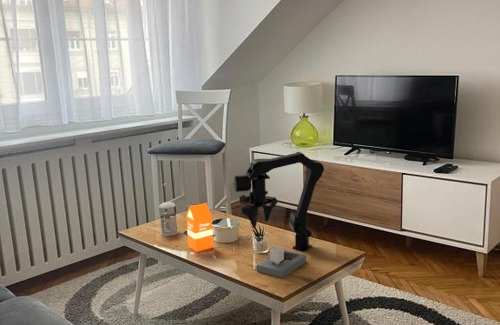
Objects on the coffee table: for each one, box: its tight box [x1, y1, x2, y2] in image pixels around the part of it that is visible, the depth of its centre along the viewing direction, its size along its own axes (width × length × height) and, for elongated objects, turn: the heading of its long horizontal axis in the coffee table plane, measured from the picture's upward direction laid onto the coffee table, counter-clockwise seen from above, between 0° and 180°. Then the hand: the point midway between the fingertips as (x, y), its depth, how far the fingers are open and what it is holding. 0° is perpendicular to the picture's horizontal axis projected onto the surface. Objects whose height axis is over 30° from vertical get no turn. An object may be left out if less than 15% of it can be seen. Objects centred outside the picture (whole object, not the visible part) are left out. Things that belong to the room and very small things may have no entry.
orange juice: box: [186, 202, 214, 253], centre depth 230 cm, size 8×9×20 cm
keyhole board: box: [256, 249, 307, 279], centre depth 207 cm, size 18×12×3 cm, turn 143°
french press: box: [158, 182, 180, 237], centre depth 251 cm, size 10×12×25 cm
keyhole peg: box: [269, 245, 285, 265], centre depth 204 cm, size 5×5×9 cm
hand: (260, 224), depth 219 cm, fingers open, 9 cm apart
